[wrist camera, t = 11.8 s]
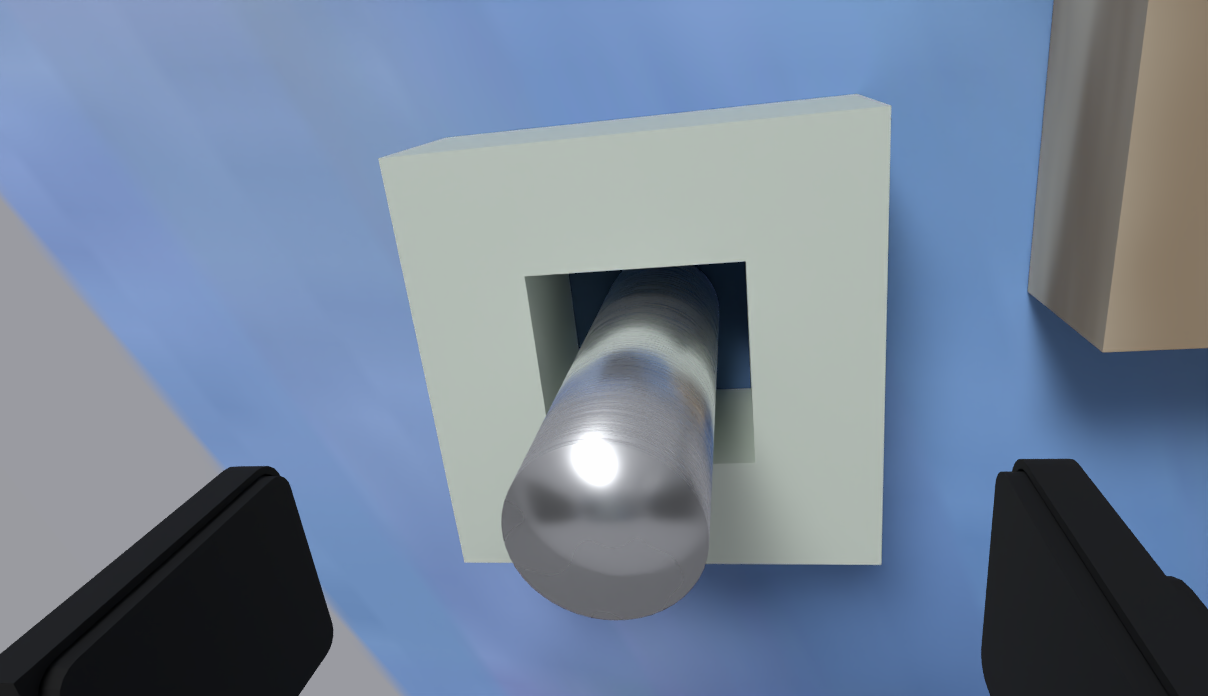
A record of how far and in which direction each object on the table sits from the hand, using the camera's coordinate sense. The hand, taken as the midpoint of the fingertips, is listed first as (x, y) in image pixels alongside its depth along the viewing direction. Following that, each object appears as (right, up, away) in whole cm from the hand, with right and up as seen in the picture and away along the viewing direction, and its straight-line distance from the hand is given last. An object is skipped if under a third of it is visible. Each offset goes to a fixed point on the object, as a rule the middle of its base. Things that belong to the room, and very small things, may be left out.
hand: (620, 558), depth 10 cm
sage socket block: (+1, +4, +10) cm, 11 cm away
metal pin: (+1, +4, +10) cm, 11 cm away
